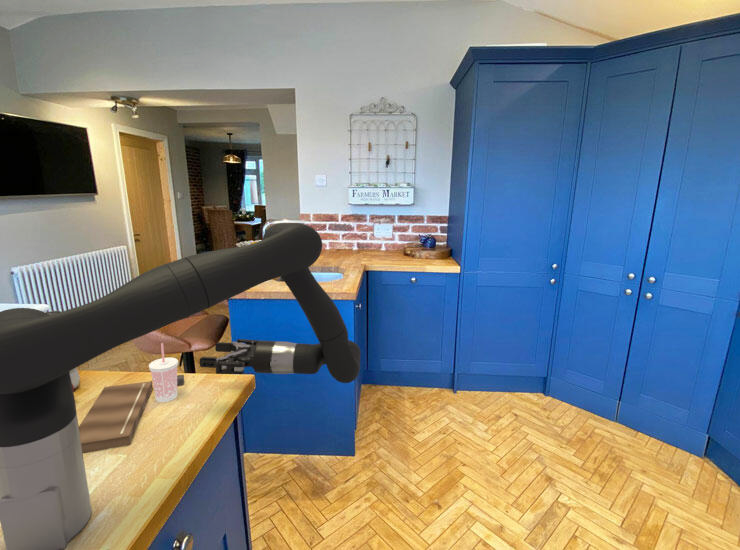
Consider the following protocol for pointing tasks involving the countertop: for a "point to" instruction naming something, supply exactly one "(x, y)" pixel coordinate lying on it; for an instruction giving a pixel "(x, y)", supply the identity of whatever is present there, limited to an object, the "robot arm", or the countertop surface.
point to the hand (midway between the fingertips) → (208, 354)
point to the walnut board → (115, 415)
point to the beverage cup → (164, 377)
